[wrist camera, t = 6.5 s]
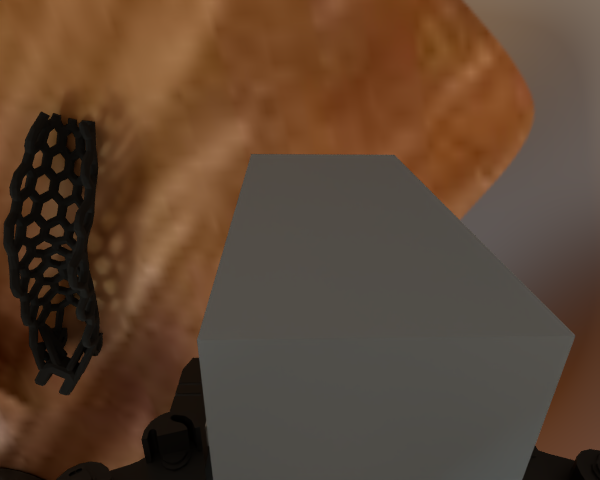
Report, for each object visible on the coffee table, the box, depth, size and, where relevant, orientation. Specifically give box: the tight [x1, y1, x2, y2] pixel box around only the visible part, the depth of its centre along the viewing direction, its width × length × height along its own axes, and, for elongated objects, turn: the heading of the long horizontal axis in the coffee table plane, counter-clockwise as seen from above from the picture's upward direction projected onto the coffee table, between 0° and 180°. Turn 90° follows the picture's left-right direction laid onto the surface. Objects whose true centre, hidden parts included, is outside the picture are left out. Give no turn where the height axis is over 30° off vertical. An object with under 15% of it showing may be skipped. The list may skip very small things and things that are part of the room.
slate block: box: [197, 154, 575, 480], centre depth 13 cm, size 12×5×10 cm, turn 179°
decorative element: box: [3, 112, 103, 395], centre depth 31 cm, size 22×5×6 cm, turn 168°
